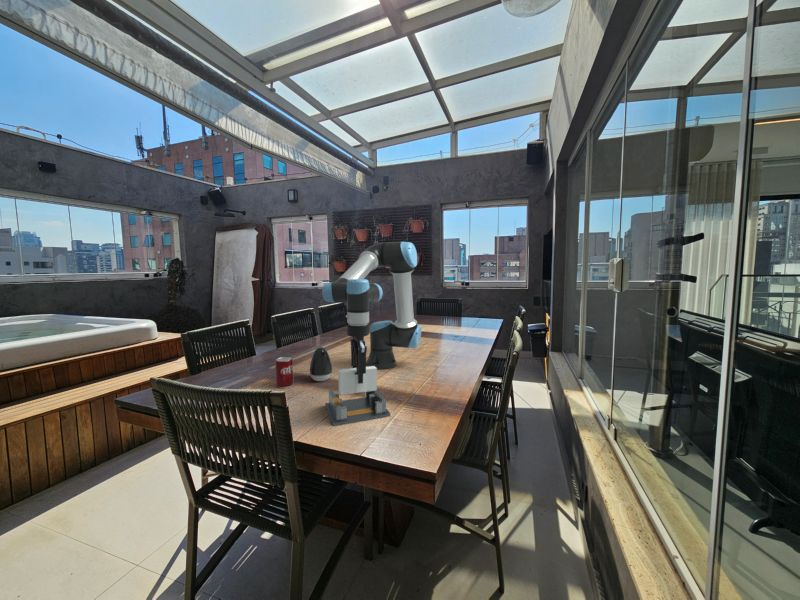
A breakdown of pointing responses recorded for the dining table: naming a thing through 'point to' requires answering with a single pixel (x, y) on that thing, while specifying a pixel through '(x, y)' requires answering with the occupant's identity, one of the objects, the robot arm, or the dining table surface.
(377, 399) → the rack
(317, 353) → the dark grey egg shape
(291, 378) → the soda can
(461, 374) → the dining table surface
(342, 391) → the panel
